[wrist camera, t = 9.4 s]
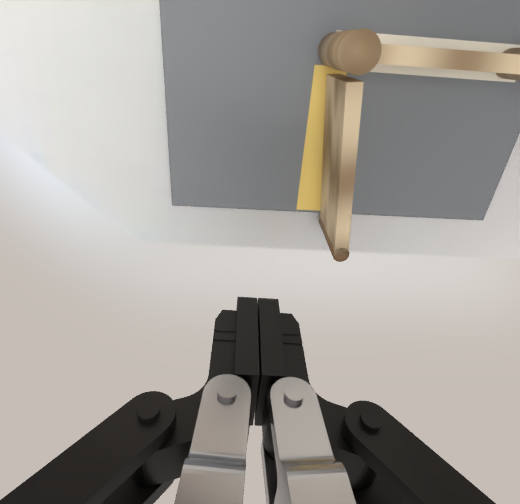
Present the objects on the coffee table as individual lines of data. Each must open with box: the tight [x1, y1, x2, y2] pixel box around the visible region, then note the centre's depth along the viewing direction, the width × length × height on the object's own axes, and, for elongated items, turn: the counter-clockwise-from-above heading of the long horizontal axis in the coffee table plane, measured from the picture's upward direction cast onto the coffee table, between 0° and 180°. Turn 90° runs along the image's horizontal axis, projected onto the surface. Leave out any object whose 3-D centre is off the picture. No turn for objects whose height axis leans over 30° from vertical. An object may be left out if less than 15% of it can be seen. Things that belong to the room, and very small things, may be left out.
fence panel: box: [319, 74, 364, 262], centre depth 26 cm, size 12×1×6 cm, turn 3°
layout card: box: [159, 0, 520, 220], centre depth 27 cm, size 28×18×1 cm, turn 86°
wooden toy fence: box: [318, 28, 520, 81], centre depth 23 cm, size 15×2×8 cm, turn 86°
